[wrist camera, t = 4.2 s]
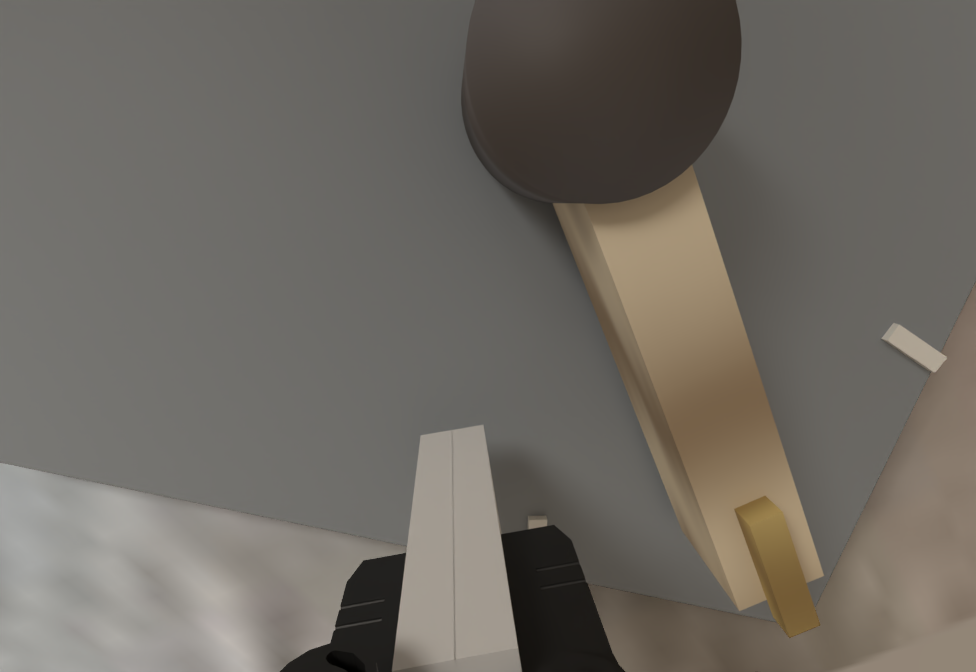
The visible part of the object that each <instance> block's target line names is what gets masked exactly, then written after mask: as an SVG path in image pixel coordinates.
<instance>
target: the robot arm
mask: <svg viewBox="0 0 976 672" xmlns="http://www.w3.org/2000/svg"><path fill="white" fill-rule="evenodd" d="M335 627H336V630H335V631H334V632H333V636H332V639H331V643H330V644H327V645H324V646H321V647H318V648H315V649H312V650H309V651H307V652H306V653H304V654H303V655H301V656H299V657H298V658H296V659H295V660H293V661H291V662H290V663H288V664H287V665H286V666H285V667H284V668H283V669H282V670H281V671H280V672H625V671H624V670H623V669H622V668H621V667H620V666H619V664H618V662H617V660H616V658H615V657H614V655H613V653H612V650H611V648H610V645H609V642H608V639H607V636H606V634H605V631H604V628H603V625H602V623H601V620H600V617H599V614H598V612H597V609H596V606H595V603H594V601H593V598H592V595H591V592H590V590H589V587H588V584H587V583H586V579H585V576H584V573H583V570H582V568H581V565H580V563H579V559H578V557H577V554H576V551H575V548H574V546H573V543H572V540H571V539H570V538H569V537H568V536H566V535H565V534H564V533H563V532H562V531H561V530H560V529H558V528H557V527H556V526H555V525H550V526H544V527H538V528H533V529H527V530H522V531H516V532H510V533H505V534H501V527H500V521H499V515H498V509H497V503H496V497H495V491H494V485H493V479H492V473H491V467H490V461H489V455H488V449H487V443H486V437H485V431H484V425H478V426H473V427H467V428H461V429H455V430H449V431H443V432H437V433H432V434H426V435H421V437H420V445H419V453H418V461H417V469H416V478H415V486H414V494H413V502H412V510H411V519H410V527H409V535H408V543H407V551H406V553H404V554H398V555H392V556H387V557H381V558H376V559H370V560H364V561H363V562H362V563H361V565H360V566H359V567H358V568H357V570H356V571H355V572H354V574H353V575H352V576H351V578H350V579H349V580H348V581H347V584H346V587H345V591H344V595H343V599H342V602H341V610H339V613H338V617H337V621H336V625H335Z"/></svg>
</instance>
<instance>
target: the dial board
mask: <svg viewBox="0 0 976 672" xmlns="http://www.w3.org/2000/svg"><path fill="white" fill-rule="evenodd" d="M474 3H475V0H0V463H5V464H10V465H15V466H19V467H24V468H29V469H34V470H39V471H44V472H49V473H54V474H58V475H63V476H68V477H73V478H78V479H83V480H88V481H92V482H97V483H102V484H107V485H112V486H117V487H122V488H126V489H131V490H136V491H141V492H146V493H151V494H156V495H160V496H165V497H170V498H175V499H180V500H185V501H190V502H194V503H199V504H204V505H209V506H214V507H219V508H224V509H228V510H233V511H238V512H243V513H248V514H253V515H258V516H262V517H267V518H272V519H277V520H282V521H287V522H292V523H297V524H301V525H306V526H311V527H316V528H321V529H326V530H331V531H335V532H340V533H345V534H350V535H355V536H360V537H365V538H369V539H374V540H379V541H384V542H389V543H394V544H399V545H403V546H407V543H408V535H409V527H410V519H411V510H412V502H413V494H414V486H415V478H416V469H417V461H418V453H419V445H420V437H421V435H426V434H432V433H437V432H443V431H449V430H455V429H461V428H467V427H473V426H478V425H484V431H485V437H486V443H487V449H488V455H489V461H490V467H491V473H492V479H493V485H494V491H495V497H496V503H497V509H498V515H499V521H500V527H501V534H505V533H510V532H516V531H522V530H527V529H533V528H538V527H544V526H550V525H555V526H556V527H557V528H558V529H560V530H561V531H562V532H563V533H564V534H565V535H566V536H568V537H569V538H570V539H571V540H572V543H573V546H574V548H575V551H576V554H577V557H578V559H579V563H580V565H581V568H582V570H583V573H584V576H585V579H586V583H588V584H593V585H598V586H603V587H608V588H612V589H617V590H622V591H627V592H632V593H637V594H642V595H646V596H651V597H656V598H661V599H666V600H671V601H676V602H680V603H685V604H690V605H695V606H700V607H705V608H710V609H714V610H719V611H724V612H729V613H734V614H739V615H744V616H749V617H753V618H758V619H763V620H768V621H773V622H777V621H776V620H775V619H774V618H773V616H772V613H771V610H770V607H769V605H768V602H767V600H765V601H763V602H760V603H758V604H756V605H753V606H751V607H748V608H746V609H744V610H741V611H739V610H738V609H737V607H736V606H735V604H734V603H733V602H732V600H731V599H730V597H729V596H728V595H727V593H726V592H725V590H724V589H723V588H722V586H721V585H720V583H719V582H718V581H717V579H716V578H715V576H714V575H713V573H712V572H711V571H710V569H709V568H708V566H707V565H706V564H705V562H704V561H703V559H702V558H701V557H700V555H699V554H698V552H697V551H696V550H695V548H694V547H693V545H692V544H691V542H690V541H689V540H688V538H687V537H686V535H685V534H684V533H683V531H682V529H681V527H680V524H679V522H678V519H677V517H676V514H675V511H674V509H673V506H672V504H671V501H670V499H669V496H668V494H667V491H666V489H665V486H664V484H663V481H662V479H661V476H660V474H659V471H658V469H657V466H656V464H655V461H654V458H653V456H652V453H651V451H650V448H649V446H648V443H647V441H646V438H645V436H644V433H643V431H642V428H641V426H640V423H639V421H638V418H637V416H636V413H635V410H634V408H633V405H632V403H631V400H630V398H629V395H628V393H627V390H626V388H625V385H624V383H623V380H622V378H621V375H620V373H619V370H618V368H617V365H616V363H615V360H614V357H613V355H612V352H611V350H610V347H609V345H608V342H607V340H606V337H605V335H604V332H603V330H602V327H601V325H600V322H599V320H598V317H597V315H596V312H595V309H594V307H593V304H592V302H591V299H590V297H589V294H588V292H587V289H586V287H585V284H584V282H583V279H582V277H581V274H580V272H579V269H578V267H577V264H576V262H575V259H574V256H573V254H572V251H571V249H570V246H569V244H568V241H567V239H566V236H565V234H564V231H563V229H562V226H561V224H560V221H559V219H558V216H557V214H556V211H555V208H554V206H553V203H545V202H540V201H535V200H532V199H529V198H526V197H523V196H521V195H519V194H517V193H515V192H513V191H511V190H510V189H508V188H507V187H505V186H504V185H502V184H501V183H500V182H499V181H497V180H496V179H495V178H494V177H493V176H492V175H491V174H490V173H489V172H488V171H487V169H486V168H485V167H484V166H483V164H482V163H481V161H480V160H479V158H478V157H477V156H476V154H475V152H474V150H473V148H472V146H471V144H470V141H469V139H468V136H467V133H466V130H465V126H464V121H463V117H462V107H461V87H462V78H463V69H464V60H465V51H466V42H467V35H468V28H469V22H470V17H471V14H472V10H473V7H474ZM736 3H737V8H738V13H739V18H740V26H741V37H742V46H741V64H740V71H739V78H738V82H737V86H736V90H735V94H734V97H733V100H732V103H731V105H730V108H729V110H728V113H727V116H726V117H725V119H724V121H723V123H722V125H721V127H720V129H719V131H718V133H717V134H716V136H715V137H714V139H713V140H712V141H711V143H710V144H709V146H708V147H707V149H706V150H705V151H704V152H703V153H702V154H701V156H700V157H699V158H698V159H697V160H696V161H695V162H694V163H693V164H692V166H693V169H694V172H695V175H696V178H697V181H698V184H699V187H700V191H701V194H702V197H703V200H704V203H705V206H706V209H707V212H708V215H709V219H710V222H711V225H712V228H713V231H714V234H715V237H716V240H717V243H718V247H719V250H720V253H721V256H722V259H723V262H724V265H725V268H726V272H727V275H728V278H729V281H730V284H731V287H732V290H733V293H734V296H735V300H736V303H737V306H738V309H739V312H740V315H741V318H742V321H743V325H744V328H745V331H746V334H747V337H748V340H749V343H750V346H751V349H752V353H753V356H754V359H755V362H756V365H757V368H758V371H759V374H760V377H761V381H762V384H763V387H764V390H765V393H766V396H767V399H768V402H769V406H770V409H771V412H772V415H773V418H774V421H775V424H776V427H777V430H778V434H779V437H780V440H781V443H782V446H783V449H784V452H785V455H786V459H787V462H788V465H789V468H790V471H791V474H792V477H793V480H794V483H795V487H796V490H797V493H798V496H799V499H800V502H801V505H802V508H803V511H804V515H805V518H806V521H807V524H808V527H809V530H810V533H811V536H812V540H813V543H814V546H815V549H816V552H817V555H818V558H819V561H820V564H821V568H822V571H823V574H824V576H822V577H820V578H818V579H815V580H813V581H810V582H808V583H807V586H808V589H809V592H810V595H811V598H812V601H813V604H814V607H816V605H817V603H818V601H819V599H820V596H821V594H822V592H823V590H824V588H825V586H826V584H827V582H828V580H829V578H830V576H831V574H832V572H833V570H834V568H835V566H836V564H837V562H838V560H839V558H840V556H841V554H842V552H843V550H844V548H845V546H846V544H847V542H848V540H849V538H850V536H851V534H852V532H853V529H854V527H855V525H856V523H857V521H858V519H859V517H860V515H861V513H862V511H863V509H864V507H865V505H866V503H867V501H868V499H869V497H870V495H871V493H872V491H873V489H874V487H875V485H876V483H877V481H878V479H879V477H880V475H881V473H882V471H883V469H884V467H885V465H886V462H887V460H888V458H889V456H890V454H891V452H892V450H893V448H894V446H895V444H896V442H897V440H898V438H899V436H900V434H901V432H902V430H903V428H904V426H905V424H906V422H907V420H908V418H909V416H910V414H911V412H912V410H913V408H914V406H915V404H916V402H917V400H918V398H919V395H920V393H921V391H922V389H923V387H924V385H925V383H926V381H927V379H928V377H929V375H930V373H931V372H934V373H935V372H936V371H937V370H938V369H939V367H940V366H941V365H942V364H943V362H944V361H945V360H946V359H947V357H946V356H944V355H943V354H942V353H941V351H942V349H943V347H944V345H945V343H946V341H947V339H948V337H949V335H950V333H951V330H952V328H953V326H954V324H955V322H956V320H957V318H958V316H959V314H960V312H961V310H962V308H963V306H964V304H965V302H966V300H967V298H968V296H969V294H970V292H971V290H972V288H973V286H974V284H975V282H976V0H736Z"/></svg>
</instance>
